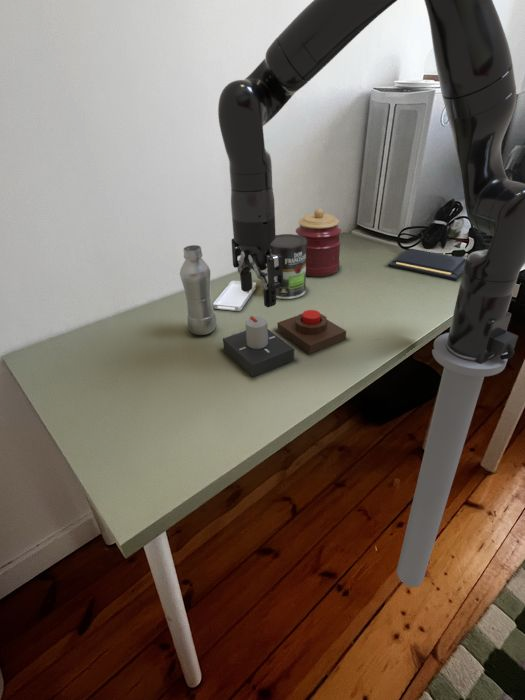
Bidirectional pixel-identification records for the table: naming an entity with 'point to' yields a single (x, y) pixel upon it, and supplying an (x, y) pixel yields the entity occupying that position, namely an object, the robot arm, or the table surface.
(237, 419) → the table surface
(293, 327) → the power button base
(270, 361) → the dial console
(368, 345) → the table surface
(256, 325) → the brew dial
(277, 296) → the coffee can
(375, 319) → the table surface
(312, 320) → the power button
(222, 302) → the phone case
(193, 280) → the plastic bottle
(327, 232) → the kitchen canister
